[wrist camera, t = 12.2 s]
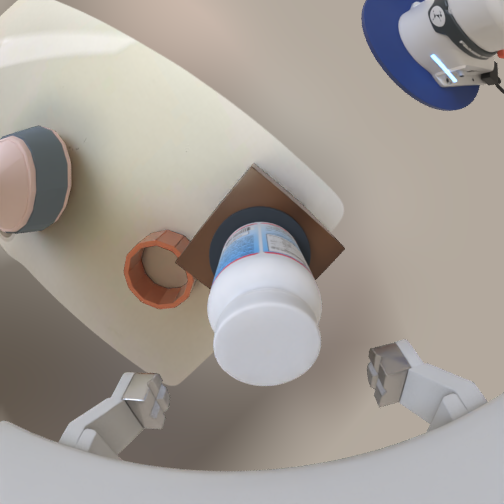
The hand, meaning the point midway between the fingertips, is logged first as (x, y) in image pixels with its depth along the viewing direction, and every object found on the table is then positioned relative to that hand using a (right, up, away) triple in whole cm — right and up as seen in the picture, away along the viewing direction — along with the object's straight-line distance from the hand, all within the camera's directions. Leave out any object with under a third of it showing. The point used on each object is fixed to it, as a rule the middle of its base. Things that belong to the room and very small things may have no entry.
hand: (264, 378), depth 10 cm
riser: (0, +11, +31) cm, 33 cm away
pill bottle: (0, +4, +12) cm, 13 cm away
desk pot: (-14, +3, +34) cm, 37 cm away
